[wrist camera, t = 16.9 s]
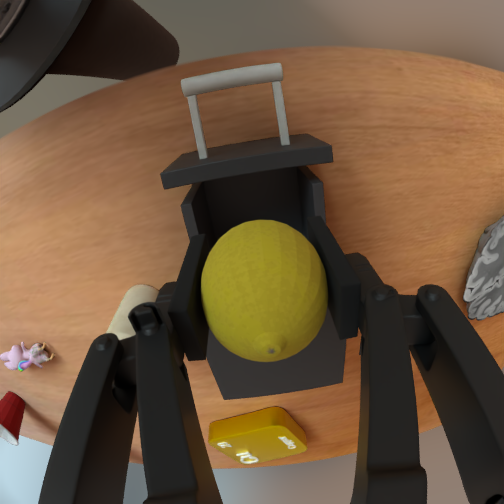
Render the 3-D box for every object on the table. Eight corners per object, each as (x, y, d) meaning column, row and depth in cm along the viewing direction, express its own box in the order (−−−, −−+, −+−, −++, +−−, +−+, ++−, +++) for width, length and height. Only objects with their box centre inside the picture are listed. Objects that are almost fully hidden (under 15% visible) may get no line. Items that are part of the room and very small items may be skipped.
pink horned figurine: (43, 328, 39) (-5, 343, 38) (31, 352, 34) (-16, 363, 33) (63, 355, 42) (14, 366, 41) (54, 379, 37) (4, 387, 36)
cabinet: (197, 236, 31) (181, 291, 22) (319, 217, 30) (349, 265, 22) (226, 338, 38) (223, 400, 29) (324, 324, 37) (342, 382, 29)
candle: (164, 284, 34) (143, 346, 25) (170, 320, 36) (153, 382, 27) (121, 282, 33) (90, 340, 25) (129, 317, 36) (106, 376, 27)
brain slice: (441, 250, 33) (453, 261, 30) (518, 185, 28) (531, 192, 26) (462, 329, 40) (470, 341, 38) (526, 274, 36) (535, 283, 33)
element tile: (307, 433, 52) (311, 452, 48) (242, 449, 55) (243, 468, 51) (279, 403, 46) (282, 426, 41) (204, 422, 48) (203, 443, 44)
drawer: (168, 90, 23) (140, 86, 16) (298, 68, 22) (320, 55, 16) (212, 278, 32) (205, 327, 25) (319, 262, 32) (338, 307, 25)
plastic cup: (17, 387, 47) (-1, 425, 36) (40, 414, 52) (26, 450, 41) (-7, 380, 47) (-25, 414, 36) (15, 406, 52) (0, 439, 41)
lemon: (324, 257, 17) (369, 358, 10) (245, 300, 19) (247, 410, 12) (276, 178, 15) (307, 251, 8) (189, 232, 16) (154, 334, 9)
